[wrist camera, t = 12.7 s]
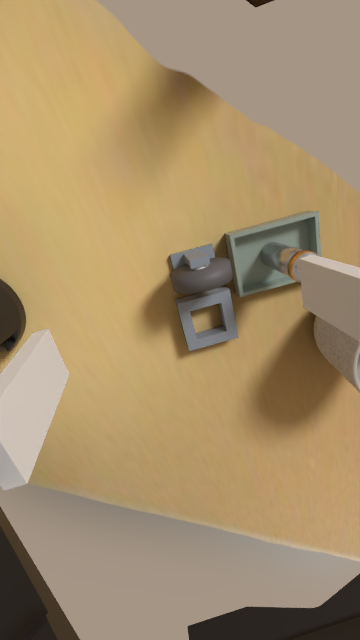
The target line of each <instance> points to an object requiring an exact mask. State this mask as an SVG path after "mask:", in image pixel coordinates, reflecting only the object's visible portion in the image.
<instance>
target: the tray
mask: <svg viewBox="0 0 360 640" xmlns="http://www.w3.org/2000/svg"><path fill="white" fill-rule="evenodd" d="M225 239H226V245H227V250H228V256H229V260H230V263H231V269H232V275H233V284H234V290H235V293H236V294H237V295H238V296H239V297H244V296H247V295H251V294H254V293H258V292H262V291H265V290H269V289H273V288H276V287H280V286H283V285H287V284H291V283H294V282H297V281H295V280H293V279H292V278H291V277H289V276H287V275H285V274H283V273H281V272H279V271H277V270H275V269H273V268H271V267H269V266H267V265H265V264H263V263H262V261H261V259H260V252H261V249H262V248H263V246H264V245H265V244H267V243H269V242H278V243H281V244H284V245H288V246H291V247H295V248H298V249H302V250H308V251H311V252H314V253H317V254H318V255H319V256H321V244H320V226H319V211H306V212H303V213H299V214H295V215H292V216H288V217H284V218H280V219H277V220H273V221H269V222H266V223H262V224H258V225H255V226H251V227H247V228H243V229H240V230H236V231H232V232H229V233H225Z"/></svg>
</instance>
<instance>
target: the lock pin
mask: <svg viewBox="0 0 360 640" xmlns="http://www.w3.org/2000/svg"><path fill="white" fill-rule="evenodd" d="M311 255H316V256H319V255H318V254H317V253H314V252H311V251H308V250H302V249H298V248H295V247H291V246H288V245H284V244H281V243H278V242H269V243H267V244H265V245H264V246H263V248H262V249H261V252H260V259H261V261H262V263H263V264H265V265H267V266H269V267H271V268H273V269H275V270H277V271H279V272H281V273H283V274H285V275H287V276H289V277H291V278H292V279H293V280H295V281H297V282H299V283H301V274H300V262H299V259H300V258H303V257H307V256H311ZM320 257H321V256H320Z"/></svg>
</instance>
